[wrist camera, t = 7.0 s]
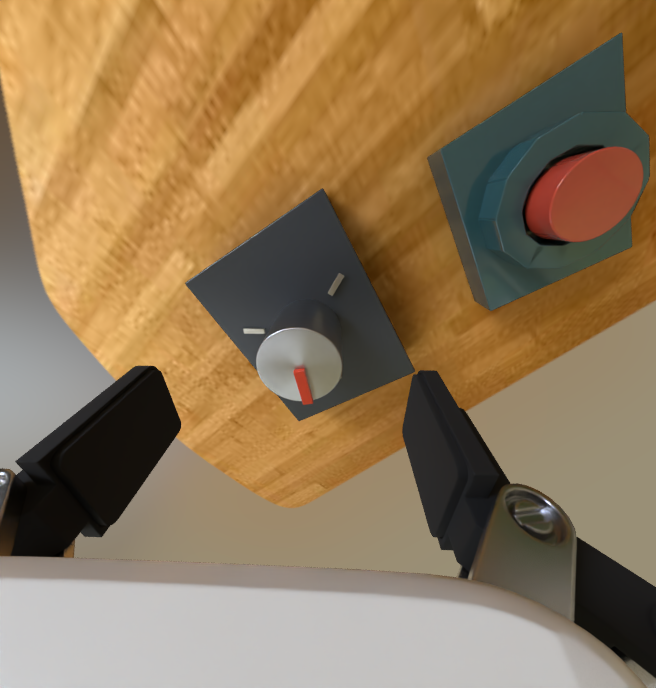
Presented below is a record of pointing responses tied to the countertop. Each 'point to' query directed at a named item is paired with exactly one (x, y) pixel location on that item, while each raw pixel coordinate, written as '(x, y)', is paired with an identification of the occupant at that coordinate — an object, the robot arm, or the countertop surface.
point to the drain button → (584, 195)
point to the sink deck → (305, 297)
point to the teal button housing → (534, 177)
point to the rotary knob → (302, 352)
